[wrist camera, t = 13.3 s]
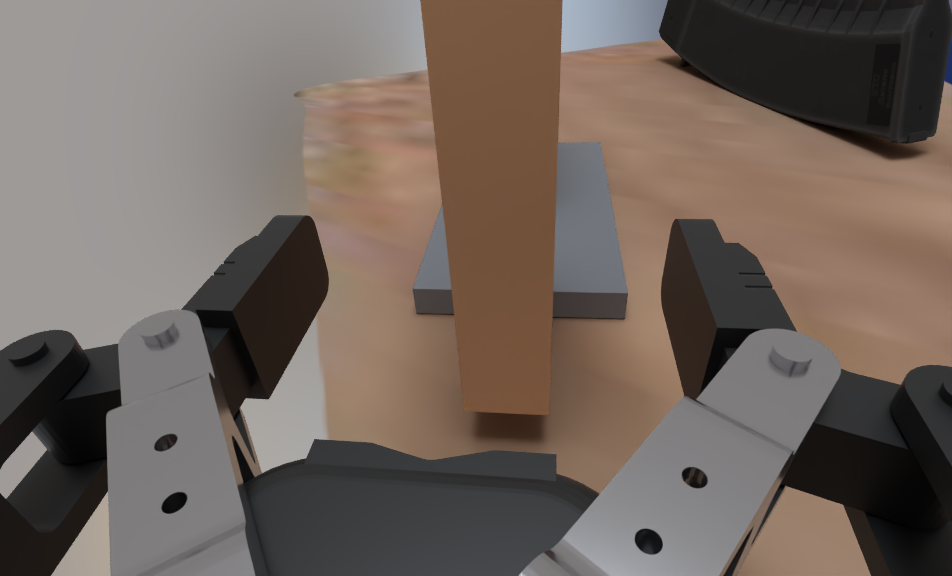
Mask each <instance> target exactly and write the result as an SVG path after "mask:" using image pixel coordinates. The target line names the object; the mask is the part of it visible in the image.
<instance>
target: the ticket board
mask: <svg viewBox="0 0 952 576" xmlns="http://www.w3.org/2000/svg"><path fill="white" fill-rule="evenodd" d="M413 294H414V300H415V306H416V313H427V314H454V308H453V299H452V289H451V280H450V271H449V262H448V252H447V243H446V234H445V224H444V215H443V206H442V205H441V208H440V211H439V214H438V217H437V220H436V223H435V226H434V229H433V232H432V234H431V237H430V240H429V243H428V246H427V249H426V252H425V255H424V258H423V260H422V263H421V266H420V269H419V272H418V275H417V278H416V281H415V284H414V287H413ZM627 296H628V291H627V286H626V280H625V275H624V269H623V264H622V258H621V253H620V247H619V242H618V236H617V231H616V225H615V220H614V214H613V209H612V203H611V198H610V193H609V187H608V182H607V176H606V171H605V165H604V160H603V154H602V149H601V143H600V142H581V143H558V156H557V188H556V220H555V252H554V284H553V316H552V317H580V318H618V319H625V311H626V304H627Z"/></svg>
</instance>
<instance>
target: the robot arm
mask: <svg viewBox="0 0 952 576" xmlns="http://www.w3.org/2000/svg"><path fill="white" fill-rule="evenodd" d="M328 285H329V277H328V271H327V267H326V263H325V259H324V255H323V252H322V248H321V244H320V240H319V237H318V233H317V229H316V226H315V223H314V221H313V219H312V218H311V217H310V216H299V215H298V216H297V215H295V216H294V215H291V216H290V215H289V216H287V215H285V216H284V215H277V216H275V217H274V218H273V219H272V220H271V221H270V222H269V223H268V225H267V226H266V227H265V228H264V229H263V231H262V232H261V233H260V234H259V235H258V236H254V237H253V238H251V239H249V240H248V241H246V242H245V243H243V244H241V245H240V246H238V247H237V248H235V250H234V251H233V252H232V253H231V254H230V255H229V256H228V257H227V258H226V260H225V261H224V264H221V265H220V266H219V268H218V269H217V270H216V271H215V272H214V276H211V277H210V278H209V279H208V280H207V281H206V282H205V283H204V285H203V286H202V287H201V288H200V289H199V290H198V291H197V292H196V294H195V295H194V296H193V297H192V298H191V299H190V300H189V301H188V303H187V304H186V305H185V306H184V307H183V308H182V309H181V310H169V311H164V312H160V313H157V314H154V315H151V316H149V317H147V318H145V319H143V320H141V321H139V322H137V323H136V324H135V325H133V326H132V327H131V328H130V329H128V330H127V331H126V332H125V333H124V335H123V336H122V337H121V339H120V341H119V343H118V344H114V345H108V346H103V347H97V348H92V349H86V350H83V349H82V348H81V346H80V345H79V343H78V342H77V340H76V339H75V337H74V336H73V335H72V334H71V333H69V332H67V331H63V330H50V331H44V332H40V333H36V334H33V335H30V336H27V337H25V338H22V339H20V340H18V341H16V342H14V343H12V344H10V345H9V346H7V347H5V348H4V349H3V350H1V351H0V469H1V467H2V465H3V463H4V462H5V461H6V460H7V459H8V458H9V456H10V455H11V454H12V453H13V452H14V451H15V450H16V448H17V447H18V446H19V445H20V444H21V443H22V442H23V441H24V440H25V438H26V437H27V436H28V435H29V434H30V433H31V432H32V431H33V433H34V434H35V435H36V436H37V437H38V439H39V440H40V441H41V442H42V443H43V445H44V446H45V447H46V448H47V451H46V452H45V453H44V454H43V456H42V457H41V458H40V459H39V460H38V462H37V463H36V464H35V465H34V466H33V468H32V469H31V470H30V471H29V472H28V474H27V475H26V476H25V477H24V478H23V480H22V481H21V482H20V483H19V484H18V486H17V487H16V488H15V489H14V491H13V492H12V493H11V494H10V495H9V496H8V498H7V499H5V498H4V497H3V496H2V495H1V494H0V576H51V575H52V573H53V572H54V570H55V568H56V567H57V565H58V564H59V563H60V561H61V560H62V558H63V557H64V555H65V554H66V552H67V551H68V549H69V548H70V546H71V545H72V543H73V542H74V541H75V539H76V538H77V536H78V535H79V533H80V532H81V530H82V528H83V527H84V526H85V524H86V523H87V521H88V520H89V518H90V516H91V515H92V514H93V512H94V511H95V509H96V508H97V506H98V505H99V504H100V502H101V501H102V499H103V498H104V496H105V495H106V493H107V492H108V497H109V498H108V499H109V500H108V501H109V535H110V567H111V576H737V575H738V573H739V571H740V569H741V567H742V565H743V563H744V562H745V560H746V558H747V556H748V554H749V553H750V551H751V549H752V547H753V545H754V544H755V542H756V540H757V538H758V537H759V535H760V533H761V531H762V530H763V528H764V526H765V524H766V523H767V521H768V519H769V517H770V515H771V514H772V512H773V510H774V508H775V507H776V505H777V503H778V501H779V500H780V498H781V496H782V494H783V492H784V491H785V489H786V487H787V486H788V487H791V488H794V489H797V490H800V491H803V492H806V493H809V494H812V495H815V496H818V497H821V498H824V499H827V500H830V501H834V502H837V503H840V504H843V505H844V508H845V510H846V513H847V515H848V518H849V520H850V523H851V525H852V528H853V531H854V533H855V536H856V538H857V541H858V543H859V546H860V548H861V551H862V553H863V556H864V558H865V561H866V564H867V566H868V569H869V571H870V574H871V576H952V367H948V366H940V365H927V366H921V367H917V368H915V369H913V370H911V371H910V372H909V373H908V374H907V375H906V377H905V379H904V380H903V382H902V384H901V385H899V384H895V383H891V382H887V381H883V380H879V379H875V378H871V377H866V376H862V375H858V374H855V373H851V372H848V371H846V370H843V369H841V367H840V363H839V361H838V359H837V357H836V356H835V355H834V353H833V352H832V351H831V350H830V349H829V348H827V347H826V346H825V345H823V344H822V343H821V342H819V341H817V340H815V339H814V338H812V337H809V336H807V335H805V334H802V333H799V332H797V331H796V329H795V327H794V325H793V323H792V321H791V320H790V318H789V316H788V314H787V312H786V310H785V309H784V307H783V305H782V303H781V301H780V299H779V297H778V296H777V294H776V292H775V290H774V289H772V284H771V283H770V281H769V279H768V277H767V276H765V271H764V270H763V268H762V266H761V264H760V262H759V260H758V259H757V257H756V256H755V255H753V254H752V253H751V252H750V251H748V250H747V249H746V248H744V247H743V246H742V245H740V244H739V243H724V241H723V239H722V236H721V234H720V232H719V230H718V228H717V226H716V224H715V222H714V220H712V219H675V220H674V222H673V224H672V228H671V233H670V238H669V244H668V249H667V255H666V261H665V266H664V272H663V277H662V285H661V302H662V309H663V313H664V317H665V321H666V325H667V329H668V333H669V337H670V341H671V345H672V349H673V352H674V356H675V360H676V364H677V368H678V372H679V376H680V380H681V384H682V388H683V392H684V397H683V398H682V399H680V400H679V401H678V403H677V404H676V405H675V406H674V407H673V408H672V410H671V411H670V412H669V413H668V414H667V415H666V417H665V418H664V419H663V420H662V421H661V423H660V424H659V425H658V426H657V427H656V428H655V430H654V431H653V432H652V433H651V434H650V436H649V437H648V438H647V439H646V440H645V441H644V443H643V444H642V445H641V446H640V447H639V448H638V450H637V451H636V452H635V453H634V454H633V456H632V457H631V458H630V459H629V460H628V461H627V463H626V464H625V465H624V466H623V467H622V469H621V470H620V471H619V472H618V473H617V474H616V476H615V477H614V478H613V479H612V480H611V482H610V483H609V484H608V485H607V486H606V487H605V489H604V490H603V491H602V492H601V493H600V494H599V493H597V492H596V491H594V490H593V489H591V488H589V487H587V486H586V485H584V484H582V483H580V482H577V481H575V480H573V479H570V478H568V477H565V476H562V475H559V474H556V454H541V453H525V452H509V451H488V452H482V453H475V454H469V455H463V456H456V457H450V458H444V459H437V460H425V459H421V458H418V457H415V456H412V455H409V454H405V453H402V452H399V451H396V450H393V449H389V448H386V447H383V446H380V445H377V444H374V443H366V442H350V441H335V440H319V439H318V440H317V439H314V442H313V444H312V446H311V449H310V451H309V453H308V456H307V458H306V459H301V460H297V461H294V462H290V463H286V464H283V465H281V466H278V467H275V468H272V469H270V470H268V471H266V472H264V473H262V472H261V469H260V465H259V462H258V459H257V456H256V452H255V449H254V446H253V443H252V440H251V436H250V433H249V430H248V426H247V423H246V420H245V417H244V415H243V412H242V410H241V408H240V406H241V405H242V403H243V401H244V400H245V398H253V399H269V398H270V396H271V394H272V393H273V391H274V389H275V387H276V385H277V384H278V382H279V380H280V378H281V377H282V375H283V373H284V371H285V369H286V368H287V366H288V364H289V362H290V360H291V359H292V357H293V355H294V353H295V352H296V350H297V348H298V346H299V344H300V342H301V341H302V339H303V337H304V335H305V334H306V332H307V330H308V328H309V326H310V325H311V323H312V321H313V319H314V318H315V316H316V314H317V312H318V310H319V309H320V307H321V305H322V303H323V301H324V300H325V298H326V295H327V292H328Z"/></svg>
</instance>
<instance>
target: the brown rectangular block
mask: <svg viewBox="0 0 952 576" xmlns="http://www.w3.org/2000/svg"><path fill="white" fill-rule="evenodd" d="M420 1H421V10H422V20H423V29H424V38H425V48H426V57H427V66H428V75H429V85H430V94H431V103H432V113H433V122H434V131H435V141H436V150H437V159H438V168H439V178H440V187H441V196H442V206H443V215H444V224H445V234H446V243H447V252H448V262H449V271H450V280H451V289H452V299H453V308H454V317H455V327H456V336H457V345H458V355H459V364H460V373H461V383H462V392H463V401H464V410H465V411H470V412H490V413H510V414H531V415H549V411H550V379H551V347H552V316H553V284H554V252H555V220H556V188H557V156H558V124H559V93H560V61H561V29H562V28H561V27H562V0H420Z"/></svg>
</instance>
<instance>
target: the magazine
mask: <svg viewBox="0 0 952 576" xmlns="http://www.w3.org/2000/svg"><path fill="white" fill-rule="evenodd" d="M659 33H660V36H661V38H662V39H663V40H664V41H665V42H666V43H667V44H668V45H669V46H670V47H671V48H672V49H673V50H674V51H675V52H676V53H677V54H678V55H679V56H681V57H682V61H681V63H680V66H688V65H690V64H691V65H692V66H693V67H695V68H696V69H698V70H699V71H700V72H702V73H703V74H704V75H706V76H707V77H708V78H710V79H711V80H712V81H714V82H716V83H717V84H719V85H720V86H722V87H724V88H725V89H727V90H729V91H731V92H733V93H735V94H737V95H739V96H741V97H743V98H745V99H748V100H750V101H752V102H755V103H757V104H759V105H762V106H764V107H767V108H769V109H772V110H775V111H778V112H781V113H784V114H787V115H790V116H793V117H797V118H800V119H804V120H807V121H811V122H815V123H820V124H824V125H829V126H833V127H837V128H842V129H846V130H851V131H855V132H859V133H864V134H868V135H873V136H877V137H881V138H886V139H890V140H891V142H892V143H907V144H908V143H913V142H918V141H923V140H926V139H927V137H932V136H934V135H935V133H936V129H937V123H938V117H939V111H940V104H941V98H942V92H943V86H944V78H945V73H946V67H947V60H948V54H949V48H950V41H951V35H952V13H951V9H950V5H949V0H668V3H667V6H666V9H665V13H664V16H663V19H662V23H661V26H660V30H659Z"/></svg>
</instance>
